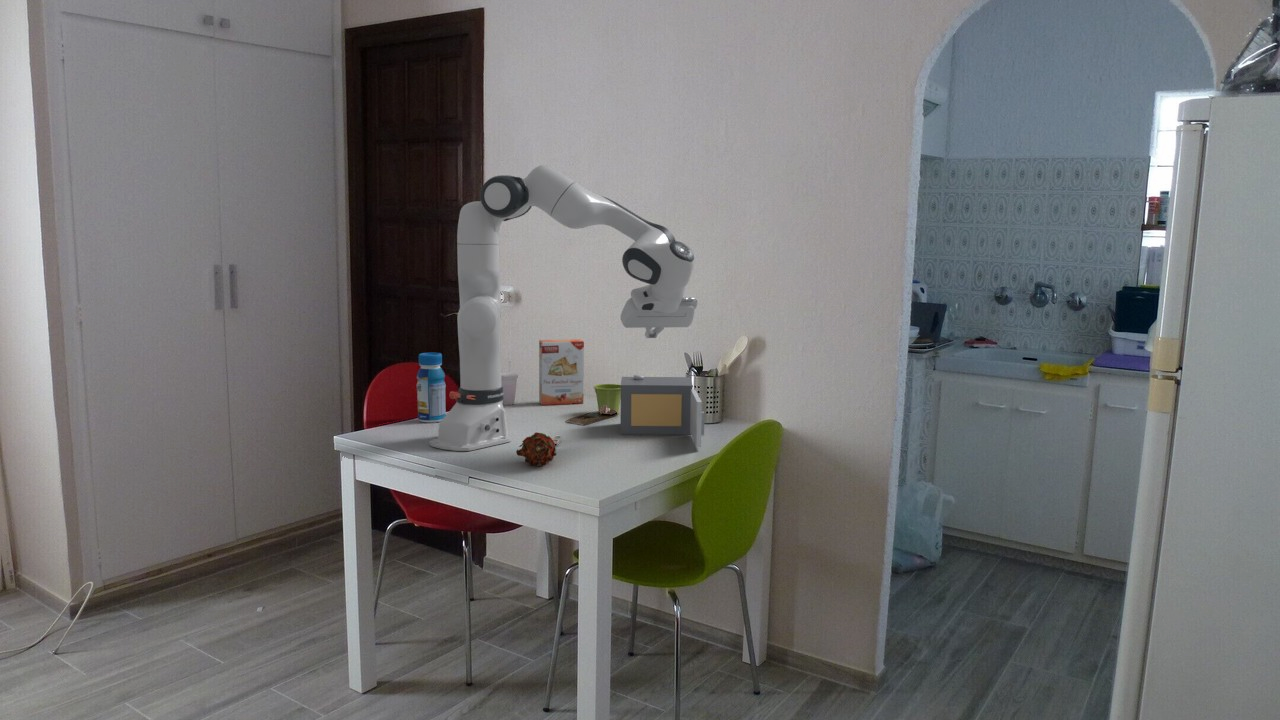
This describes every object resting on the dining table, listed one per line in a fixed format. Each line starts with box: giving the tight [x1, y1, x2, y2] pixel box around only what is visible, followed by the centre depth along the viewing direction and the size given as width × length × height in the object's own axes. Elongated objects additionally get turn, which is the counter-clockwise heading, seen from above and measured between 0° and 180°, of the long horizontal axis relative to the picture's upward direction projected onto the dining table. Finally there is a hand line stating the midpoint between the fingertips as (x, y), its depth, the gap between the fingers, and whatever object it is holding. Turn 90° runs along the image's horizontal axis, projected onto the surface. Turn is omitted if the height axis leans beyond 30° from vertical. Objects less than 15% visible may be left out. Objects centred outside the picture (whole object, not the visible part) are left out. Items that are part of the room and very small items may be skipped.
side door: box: [690, 389, 705, 448], centre depth 248 cm, size 2×18×12 cm, turn 2°
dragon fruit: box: [515, 432, 557, 467], centre depth 226 cm, size 8×8×12 cm
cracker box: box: [538, 338, 585, 406], centre depth 301 cm, size 14×6×21 cm, turn 105°
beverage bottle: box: [415, 352, 447, 424], centre depth 274 cm, size 8×8×20 cm
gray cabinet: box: [620, 374, 694, 436], centre depth 264 cm, size 14×20×15 cm
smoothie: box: [501, 360, 519, 406], centre depth 300 cm, size 6×6×14 cm
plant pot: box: [592, 383, 621, 415], centre depth 286 cm, size 9×9×9 cm
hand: (650, 336), depth 253 cm, fingers closed
